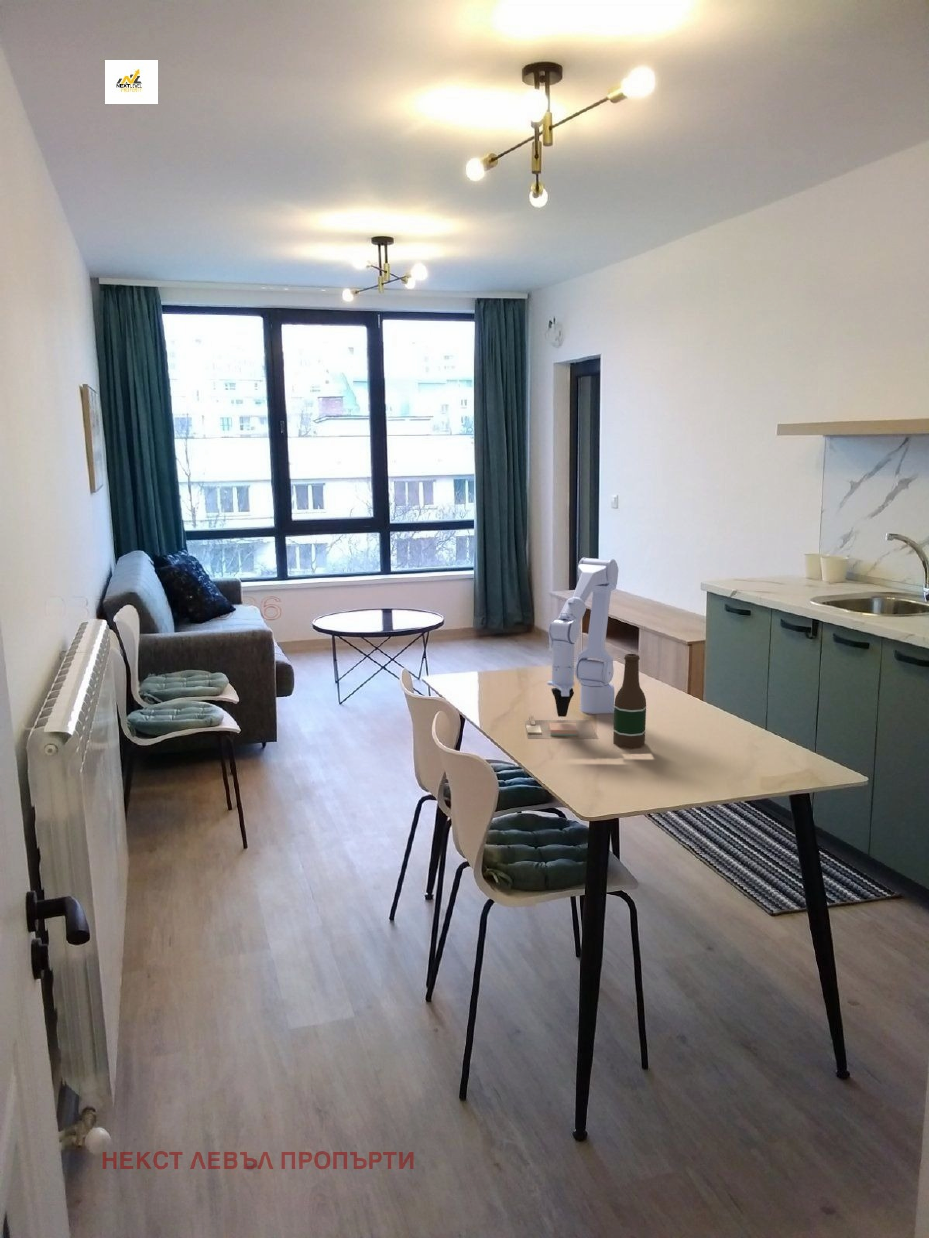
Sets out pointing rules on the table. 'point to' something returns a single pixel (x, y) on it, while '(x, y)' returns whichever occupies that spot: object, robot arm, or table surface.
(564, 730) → the tile
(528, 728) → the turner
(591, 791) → the table surface
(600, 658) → the robot arm
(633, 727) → the beer bottle
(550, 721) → the board
